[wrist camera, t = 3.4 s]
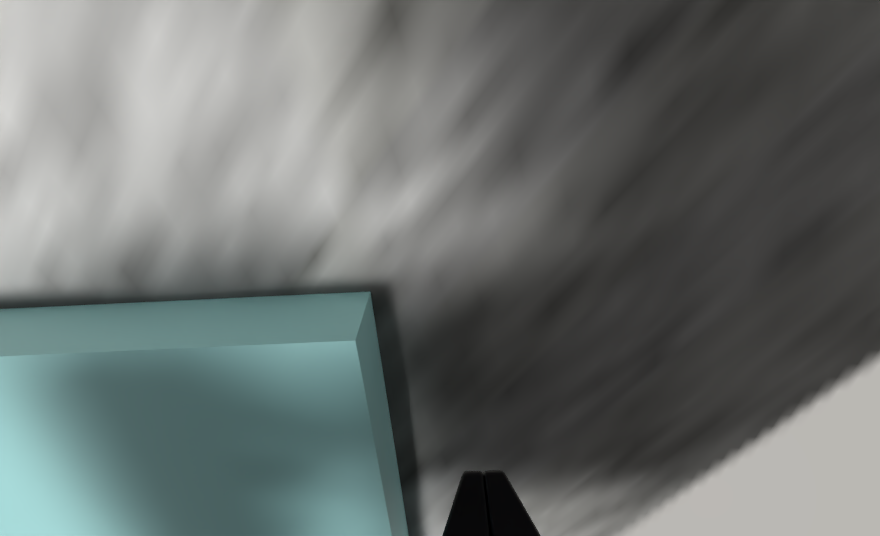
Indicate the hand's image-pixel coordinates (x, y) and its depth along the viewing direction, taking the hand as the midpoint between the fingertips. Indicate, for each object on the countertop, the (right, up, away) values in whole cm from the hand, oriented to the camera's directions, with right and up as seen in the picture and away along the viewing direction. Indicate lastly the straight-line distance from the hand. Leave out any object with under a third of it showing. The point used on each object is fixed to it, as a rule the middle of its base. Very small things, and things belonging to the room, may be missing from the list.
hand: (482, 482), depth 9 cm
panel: (-8, 0, +1) cm, 8 cm away
